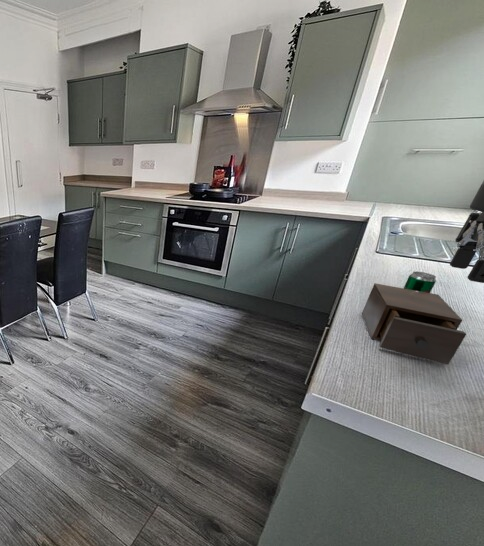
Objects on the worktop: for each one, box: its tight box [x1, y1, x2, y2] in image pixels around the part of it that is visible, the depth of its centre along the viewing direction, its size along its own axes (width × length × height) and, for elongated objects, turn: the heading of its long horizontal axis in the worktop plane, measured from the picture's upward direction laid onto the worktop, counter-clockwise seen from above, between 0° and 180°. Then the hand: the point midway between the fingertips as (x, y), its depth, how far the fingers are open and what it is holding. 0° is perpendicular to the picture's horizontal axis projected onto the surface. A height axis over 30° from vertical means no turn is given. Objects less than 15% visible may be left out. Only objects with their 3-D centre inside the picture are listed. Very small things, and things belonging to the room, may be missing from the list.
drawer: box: [379, 309, 467, 366], centre depth 72 cm, size 15×11×8 cm
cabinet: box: [361, 282, 463, 342], centre depth 77 cm, size 15×12×10 cm
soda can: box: [403, 271, 437, 293], centre depth 85 cm, size 5×5×12 cm
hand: (466, 274), depth 58 cm, fingers open, 8 cm apart
